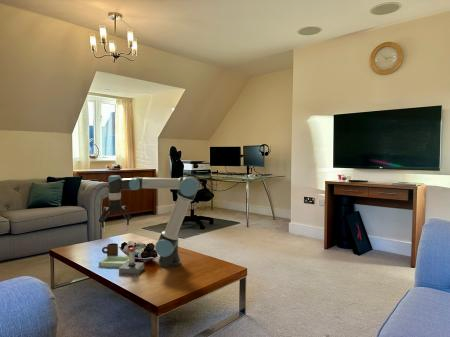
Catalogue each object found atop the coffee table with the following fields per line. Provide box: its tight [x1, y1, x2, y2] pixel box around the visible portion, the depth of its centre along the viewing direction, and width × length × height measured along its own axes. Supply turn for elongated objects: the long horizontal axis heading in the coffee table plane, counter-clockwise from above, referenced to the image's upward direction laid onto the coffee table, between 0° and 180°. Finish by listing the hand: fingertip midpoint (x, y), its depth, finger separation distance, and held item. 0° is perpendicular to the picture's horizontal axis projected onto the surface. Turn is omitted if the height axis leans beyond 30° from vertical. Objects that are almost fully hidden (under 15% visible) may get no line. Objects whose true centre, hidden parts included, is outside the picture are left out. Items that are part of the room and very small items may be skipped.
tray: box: [98, 255, 129, 269], centre depth 212 cm, size 18×14×3 cm
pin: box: [127, 247, 136, 267], centre depth 199 cm, size 4×4×15 cm
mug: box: [101, 242, 119, 257], centre depth 224 cm, size 12×8×9 cm, turn 140°
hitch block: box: [118, 261, 145, 276], centre depth 199 cm, size 12×12×4 cm
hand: (115, 231), depth 201 cm, fingers open, 13 cm apart
